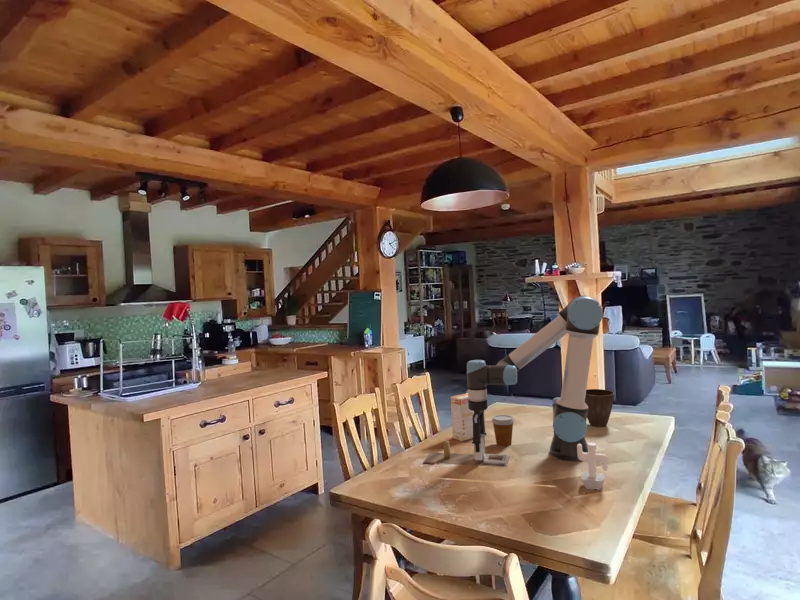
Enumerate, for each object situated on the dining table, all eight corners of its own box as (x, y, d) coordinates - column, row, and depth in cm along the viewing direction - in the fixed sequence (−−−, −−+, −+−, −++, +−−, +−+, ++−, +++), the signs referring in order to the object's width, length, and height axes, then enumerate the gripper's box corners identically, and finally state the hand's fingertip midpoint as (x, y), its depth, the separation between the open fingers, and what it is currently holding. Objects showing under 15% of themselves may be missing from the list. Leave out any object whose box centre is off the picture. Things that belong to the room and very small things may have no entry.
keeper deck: (509, 457, 202) (509, 438, 202) (507, 468, 191) (506, 448, 191) (430, 453, 212) (429, 435, 212) (423, 463, 201) (422, 444, 201)
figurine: (608, 492, 165) (606, 447, 165) (577, 489, 169) (576, 445, 168) (608, 484, 172) (606, 441, 171) (579, 481, 175) (577, 439, 175)
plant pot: (590, 419, 251) (589, 387, 251) (620, 424, 240) (619, 391, 240) (576, 426, 241) (574, 393, 240) (606, 431, 230) (605, 397, 230)
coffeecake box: (476, 431, 240) (474, 391, 240) (486, 434, 234) (484, 393, 234) (451, 438, 232) (449, 396, 232) (461, 441, 226) (459, 398, 226)
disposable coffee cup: (490, 447, 216) (489, 419, 216) (495, 440, 225) (494, 414, 224) (513, 449, 212) (511, 421, 212) (516, 442, 221) (515, 415, 221)
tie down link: (507, 457, 201) (506, 433, 200) (505, 465, 193) (503, 439, 193) (476, 456, 204) (475, 431, 204) (473, 463, 196) (472, 438, 196)
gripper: (472, 393, 210) (475, 446, 211) (463, 405, 190) (466, 464, 191) (490, 393, 208) (493, 447, 209) (483, 406, 188) (485, 465, 188)
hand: (480, 455), depth 200 cm, fingers open, 9 cm apart
